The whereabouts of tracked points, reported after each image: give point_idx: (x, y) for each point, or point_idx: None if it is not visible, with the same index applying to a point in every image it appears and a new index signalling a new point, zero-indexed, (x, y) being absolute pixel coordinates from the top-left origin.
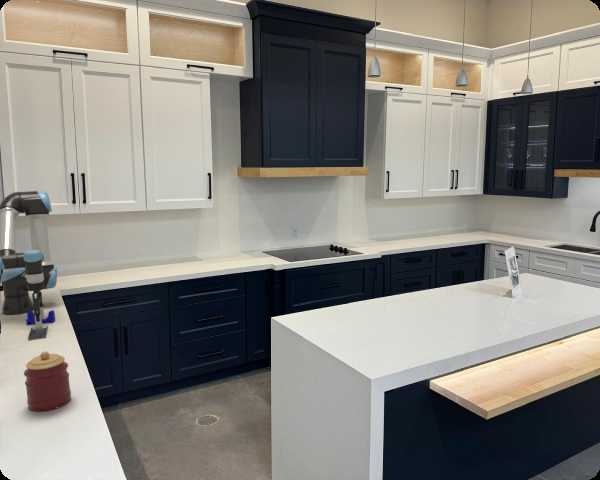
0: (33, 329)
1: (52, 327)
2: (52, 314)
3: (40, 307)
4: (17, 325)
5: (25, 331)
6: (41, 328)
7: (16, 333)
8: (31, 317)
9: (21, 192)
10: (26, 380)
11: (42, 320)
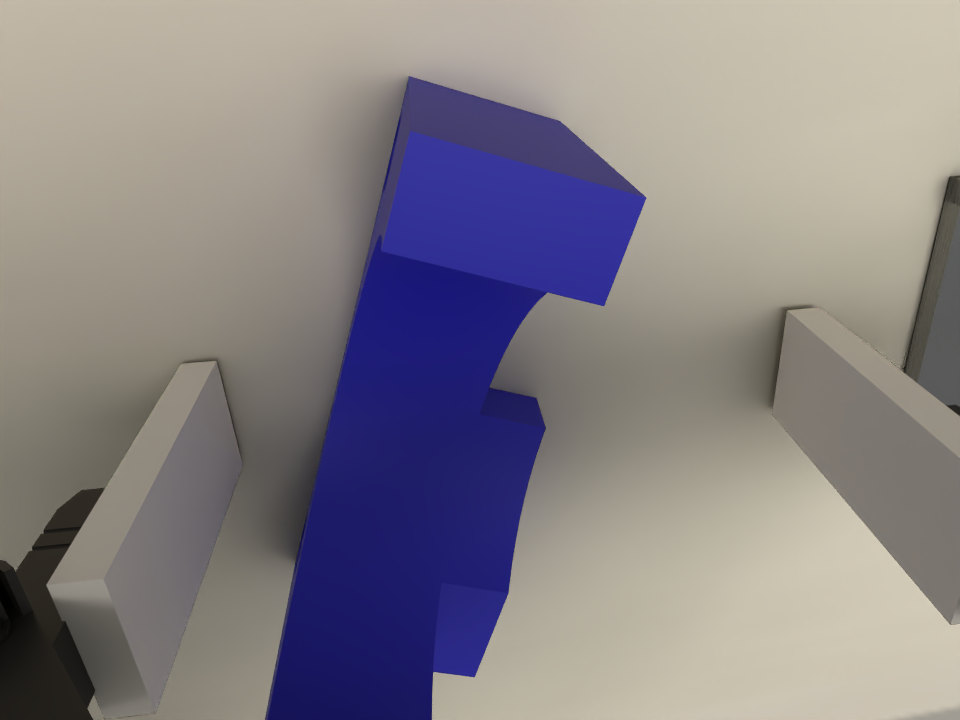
0: None
1: (941, 79)
2: (568, 157)
3: (90, 641)
4: None
5: (859, 533)
6: (955, 303)
7: (878, 626)
8: (434, 626)
9: None
10: None
11: (461, 376)
